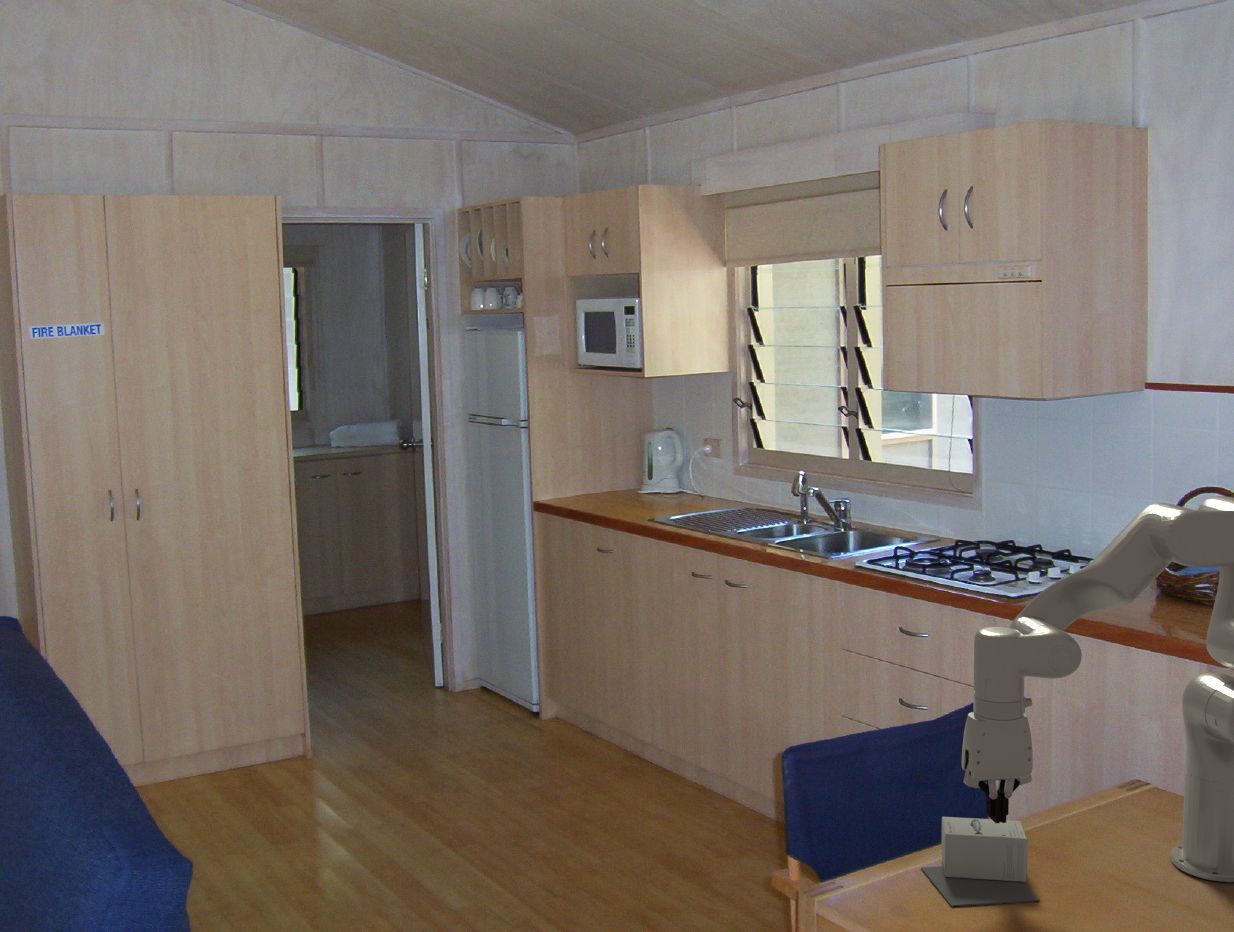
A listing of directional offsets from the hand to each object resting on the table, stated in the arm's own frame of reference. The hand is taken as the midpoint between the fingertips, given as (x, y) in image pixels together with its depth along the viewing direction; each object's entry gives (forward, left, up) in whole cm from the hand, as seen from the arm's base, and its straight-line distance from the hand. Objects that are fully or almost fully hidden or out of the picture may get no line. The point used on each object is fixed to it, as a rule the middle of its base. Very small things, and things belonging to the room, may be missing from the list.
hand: (997, 819), depth 194 cm
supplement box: (-5, -1, -6) cm, 8 cm away
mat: (+3, +2, -10) cm, 11 cm away
